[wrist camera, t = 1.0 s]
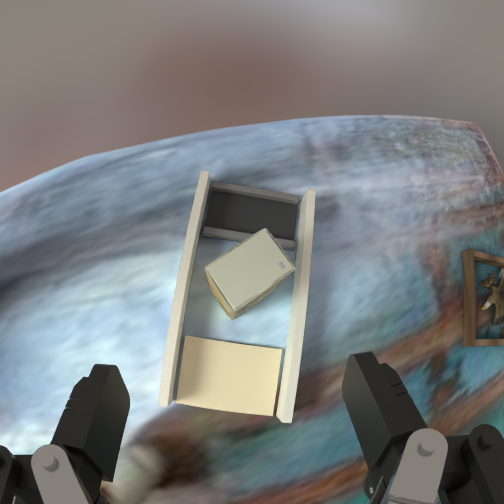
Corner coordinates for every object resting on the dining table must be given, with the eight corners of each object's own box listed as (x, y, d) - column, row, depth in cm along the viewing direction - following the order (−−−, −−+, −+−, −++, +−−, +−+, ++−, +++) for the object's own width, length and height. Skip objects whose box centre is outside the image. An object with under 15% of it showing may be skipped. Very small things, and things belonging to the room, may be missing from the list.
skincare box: (252, 262, 37) (268, 223, 25) (274, 291, 36) (300, 266, 24) (207, 291, 35) (201, 266, 23) (228, 322, 34) (233, 313, 23)
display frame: (462, 346, 36) (470, 345, 34) (461, 252, 41) (469, 248, 39) (503, 345, 37) (511, 344, 35) (501, 262, 41) (509, 259, 39)
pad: (176, 401, 31) (176, 402, 31) (185, 335, 33) (185, 335, 33) (272, 414, 32) (272, 415, 31) (281, 349, 34) (281, 349, 34)
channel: (163, 399, 31) (157, 405, 28) (202, 184, 39) (201, 170, 36) (284, 415, 32) (291, 422, 28) (308, 202, 40) (315, 189, 36)
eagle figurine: (468, 300, 37) (496, 342, 34) (501, 271, 33) (529, 315, 30) (471, 285, 43) (497, 322, 39) (499, 259, 38) (525, 298, 35)
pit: (203, 236, 37) (202, 232, 36) (213, 185, 39) (213, 181, 38) (292, 250, 38) (294, 247, 36) (297, 200, 40) (299, 195, 39)
